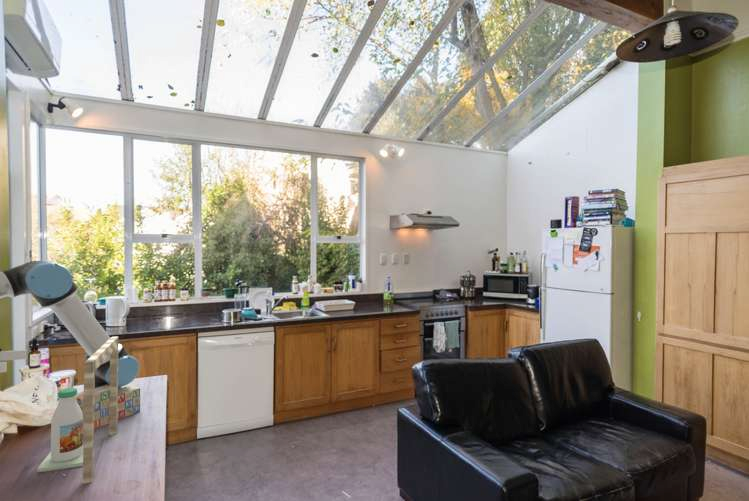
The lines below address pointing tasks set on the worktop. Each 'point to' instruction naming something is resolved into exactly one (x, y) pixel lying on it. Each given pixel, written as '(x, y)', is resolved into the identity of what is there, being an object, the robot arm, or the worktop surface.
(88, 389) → the door frame
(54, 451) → the milk bottle
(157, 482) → the worktop surface
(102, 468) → the worktop surface
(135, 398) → the stack of blocks
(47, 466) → the sage mat
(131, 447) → the worktop surface
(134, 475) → the worktop surface
